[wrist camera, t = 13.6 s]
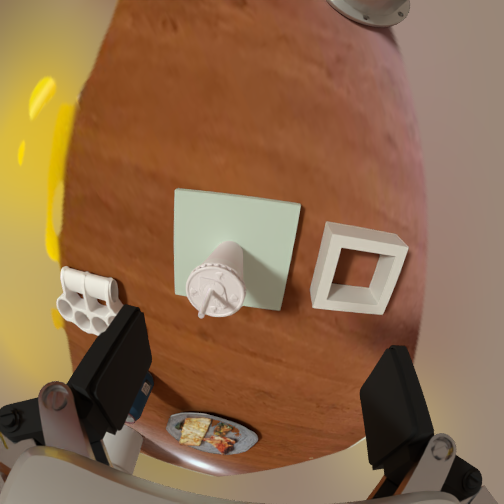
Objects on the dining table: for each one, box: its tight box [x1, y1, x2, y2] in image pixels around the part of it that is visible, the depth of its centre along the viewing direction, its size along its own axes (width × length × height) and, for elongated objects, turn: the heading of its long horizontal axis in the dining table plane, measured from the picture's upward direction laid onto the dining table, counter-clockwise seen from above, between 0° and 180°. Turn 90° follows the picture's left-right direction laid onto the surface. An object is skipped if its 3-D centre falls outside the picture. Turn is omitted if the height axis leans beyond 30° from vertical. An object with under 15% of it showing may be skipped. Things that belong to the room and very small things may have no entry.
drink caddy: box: [310, 221, 409, 315], centre depth 35 cm, size 10×10×4 cm
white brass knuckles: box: [57, 266, 123, 336], centre depth 44 cm, size 3×18×15 cm
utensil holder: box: [103, 425, 143, 475], centre depth 62 cm, size 15×15×18 cm
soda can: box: [125, 372, 154, 424], centre depth 47 cm, size 7×7×12 cm
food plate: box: [166, 413, 258, 455], centre depth 60 cm, size 25×23×4 cm
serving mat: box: [174, 188, 301, 311], centre depth 37 cm, size 16×16×1 cm
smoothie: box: [186, 241, 246, 318], centre depth 31 cm, size 6×6×14 cm
